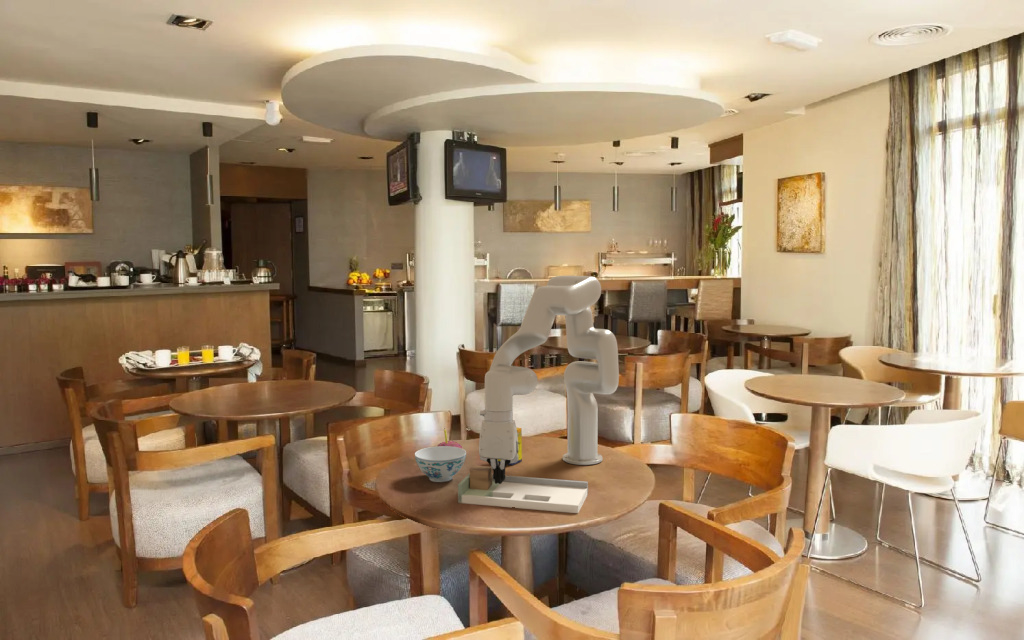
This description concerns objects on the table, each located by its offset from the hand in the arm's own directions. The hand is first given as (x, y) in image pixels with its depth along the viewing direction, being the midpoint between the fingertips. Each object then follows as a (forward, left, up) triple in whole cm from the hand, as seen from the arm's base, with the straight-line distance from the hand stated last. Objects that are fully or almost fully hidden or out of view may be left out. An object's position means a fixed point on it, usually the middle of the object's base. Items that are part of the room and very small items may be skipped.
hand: (499, 482), depth 191 cm
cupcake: (-24, -24, -4) cm, 34 cm away
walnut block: (+1, -5, -1) cm, 5 cm away
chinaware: (-9, -21, -4) cm, 23 cm away
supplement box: (-30, -6, -4) cm, 31 cm away
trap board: (+2, +7, -3) cm, 8 cm away
